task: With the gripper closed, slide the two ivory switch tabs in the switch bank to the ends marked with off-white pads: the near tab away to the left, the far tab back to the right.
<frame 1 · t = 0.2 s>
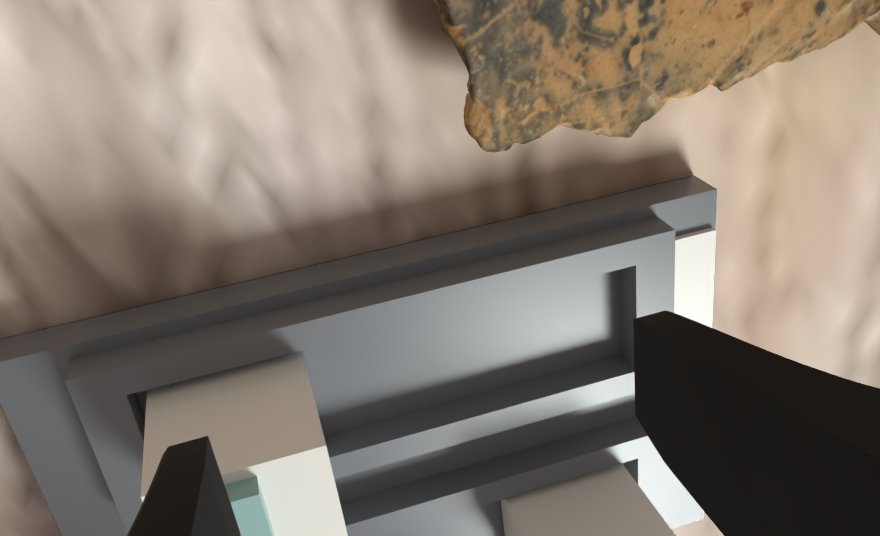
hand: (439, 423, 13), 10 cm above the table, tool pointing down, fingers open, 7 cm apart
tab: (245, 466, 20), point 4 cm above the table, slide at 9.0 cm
switch bank: (405, 433, 26), on the table
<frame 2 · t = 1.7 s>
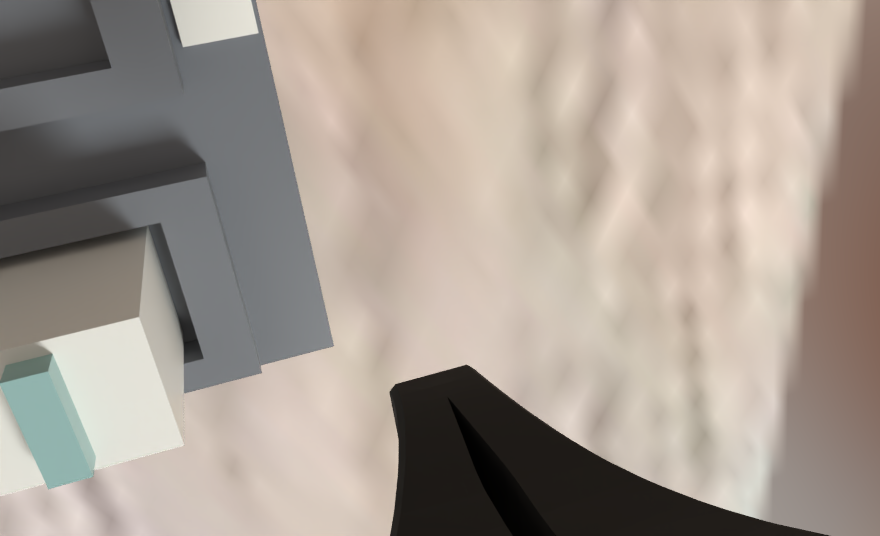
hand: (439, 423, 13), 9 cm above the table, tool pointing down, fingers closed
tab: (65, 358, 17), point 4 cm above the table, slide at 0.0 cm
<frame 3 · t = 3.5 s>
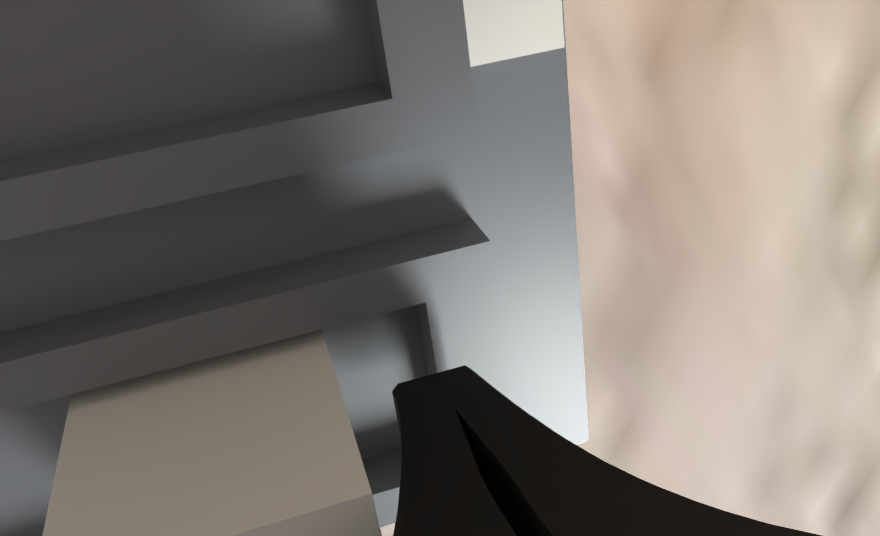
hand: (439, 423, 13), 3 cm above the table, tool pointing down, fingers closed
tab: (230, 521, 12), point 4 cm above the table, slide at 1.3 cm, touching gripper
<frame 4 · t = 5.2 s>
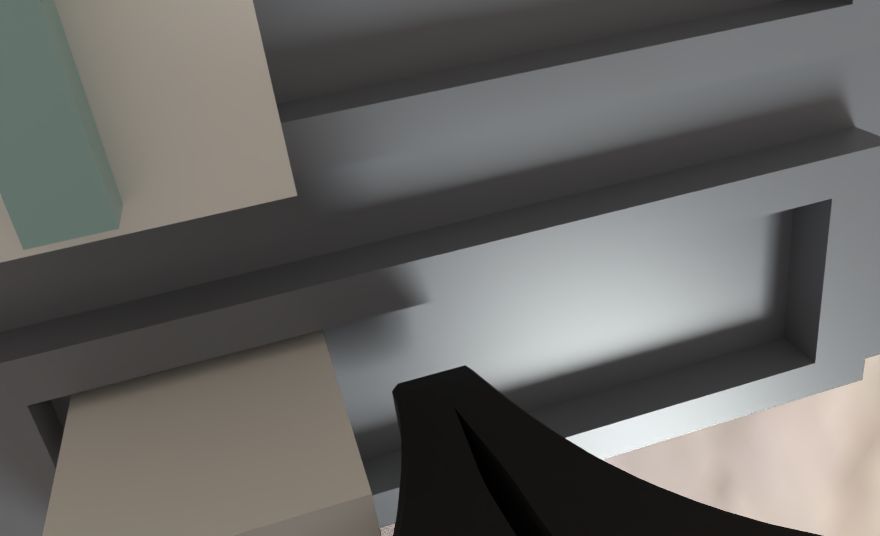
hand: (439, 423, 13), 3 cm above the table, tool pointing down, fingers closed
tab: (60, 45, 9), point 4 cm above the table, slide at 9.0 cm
switch bank: (419, 154, 15), on the table
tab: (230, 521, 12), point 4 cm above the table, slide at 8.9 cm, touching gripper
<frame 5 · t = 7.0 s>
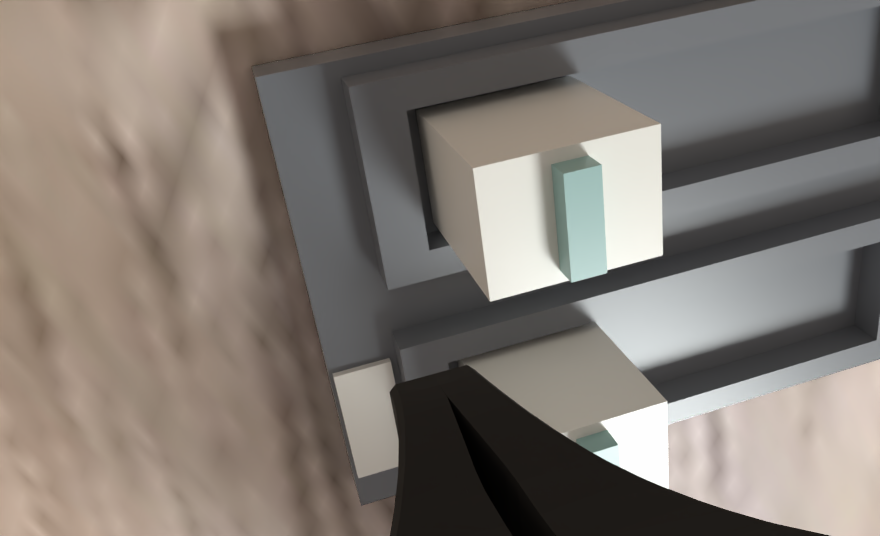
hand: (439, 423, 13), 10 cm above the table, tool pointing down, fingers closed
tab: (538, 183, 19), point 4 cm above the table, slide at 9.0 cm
switch bank: (641, 215, 24), on the table
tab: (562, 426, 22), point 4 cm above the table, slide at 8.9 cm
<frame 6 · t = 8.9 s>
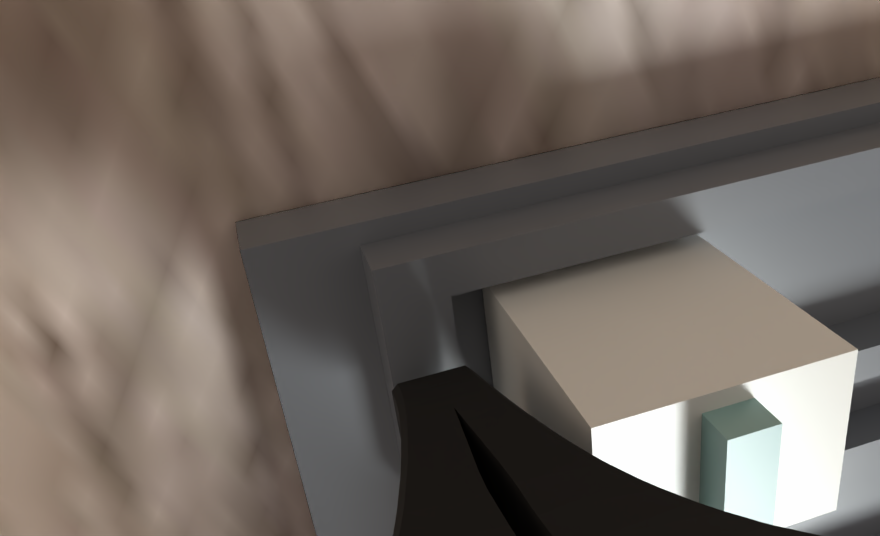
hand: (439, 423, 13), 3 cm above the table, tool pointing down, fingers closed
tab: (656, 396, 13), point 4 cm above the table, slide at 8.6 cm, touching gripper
switch bank: (734, 377, 19), on the table
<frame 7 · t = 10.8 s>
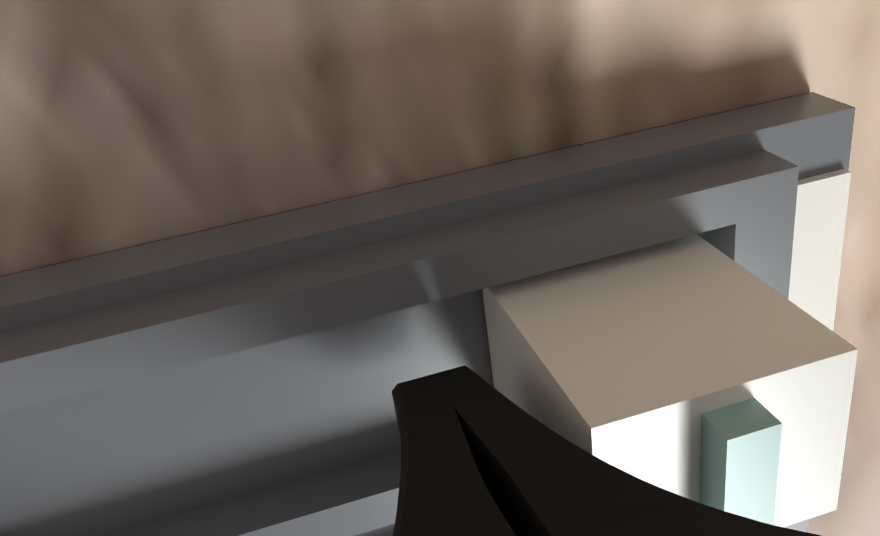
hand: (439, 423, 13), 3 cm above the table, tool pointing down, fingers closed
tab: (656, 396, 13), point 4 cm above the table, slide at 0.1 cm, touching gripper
switch bank: (377, 482, 18), on the table
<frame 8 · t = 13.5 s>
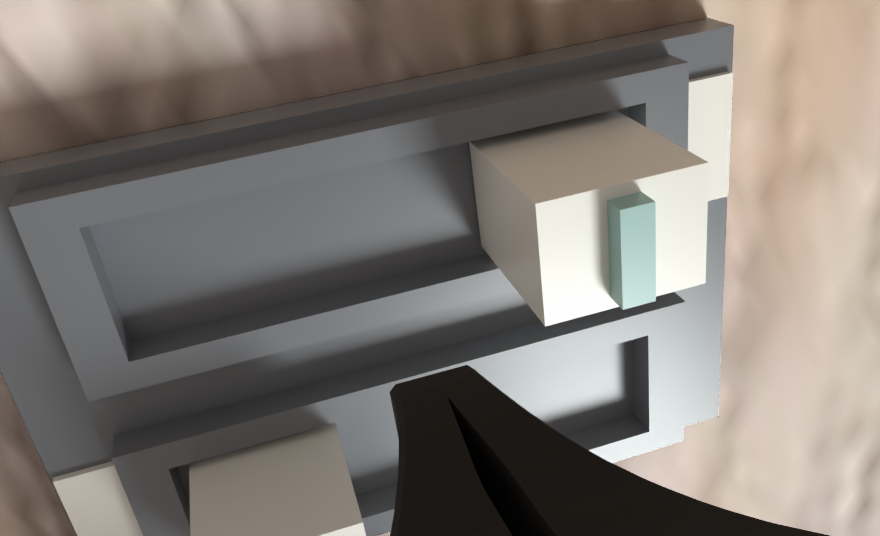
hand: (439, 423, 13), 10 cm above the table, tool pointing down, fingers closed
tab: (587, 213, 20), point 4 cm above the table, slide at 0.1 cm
switch bank: (394, 308, 24), on the table
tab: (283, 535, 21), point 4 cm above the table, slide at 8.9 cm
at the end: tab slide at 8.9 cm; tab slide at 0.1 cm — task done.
